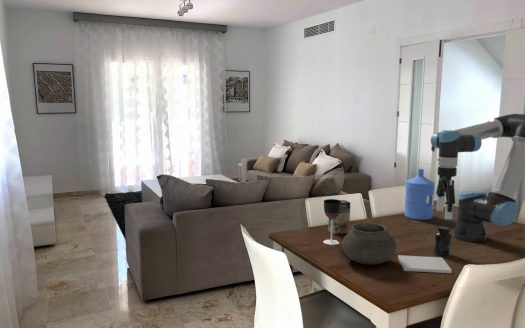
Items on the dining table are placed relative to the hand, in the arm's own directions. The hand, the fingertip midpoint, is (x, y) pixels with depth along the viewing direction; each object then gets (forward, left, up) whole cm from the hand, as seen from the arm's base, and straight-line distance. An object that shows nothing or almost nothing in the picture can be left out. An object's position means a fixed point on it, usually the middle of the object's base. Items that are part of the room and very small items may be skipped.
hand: (443, 215), depth 184 cm
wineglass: (+48, -9, -18) cm, 52 cm away
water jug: (-3, -63, -18) cm, 66 cm away
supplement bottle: (0, 0, -18) cm, 18 cm away
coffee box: (+44, -26, -18) cm, 54 cm away
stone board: (+11, +15, -18) cm, 26 cm away
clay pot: (+33, +14, -18) cm, 40 cm away
